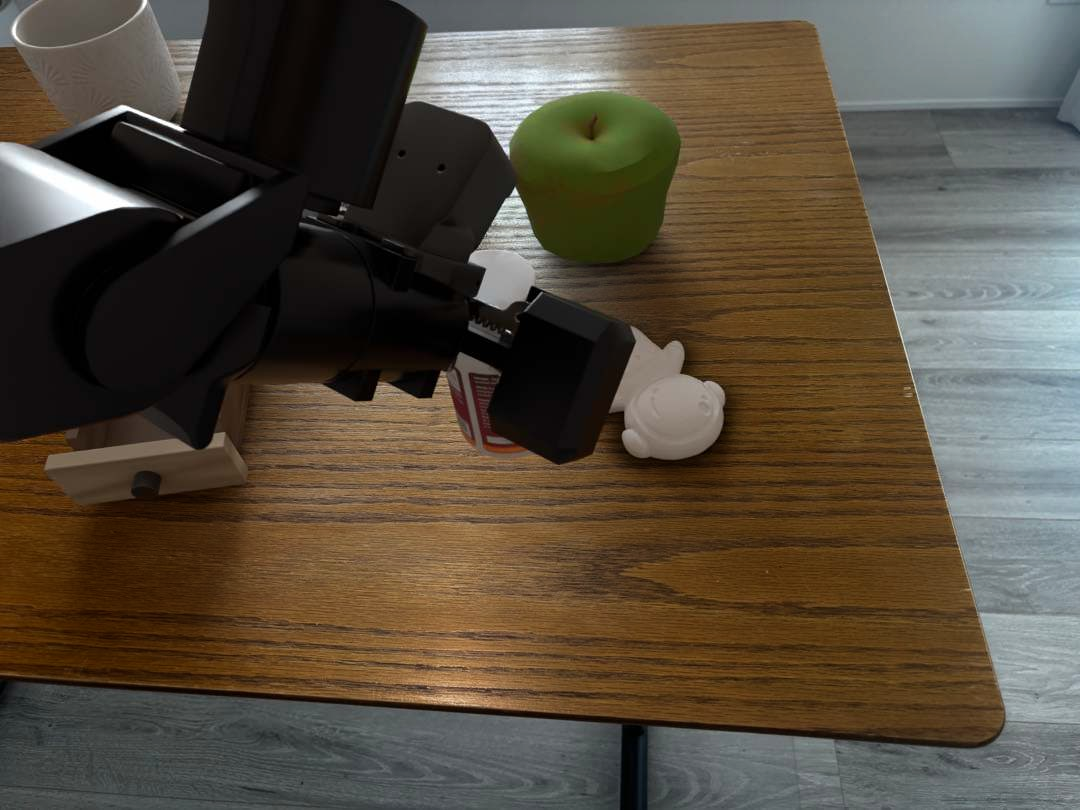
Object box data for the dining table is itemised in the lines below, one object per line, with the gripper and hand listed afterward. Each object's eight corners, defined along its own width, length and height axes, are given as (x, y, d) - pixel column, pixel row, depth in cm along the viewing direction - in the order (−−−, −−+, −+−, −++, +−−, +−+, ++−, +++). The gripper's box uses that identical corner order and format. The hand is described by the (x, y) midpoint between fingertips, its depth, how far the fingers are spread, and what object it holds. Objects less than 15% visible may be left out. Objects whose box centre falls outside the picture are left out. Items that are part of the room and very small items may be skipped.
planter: (76, 170, 81) (10, 64, 72) (66, 107, 88) (6, 4, 79) (203, 131, 83) (155, 23, 75) (183, 73, 90) (137, -31, 82)
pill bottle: (582, 400, 50) (575, 258, 41) (532, 478, 47) (513, 342, 38) (492, 367, 52) (467, 226, 43) (438, 440, 49) (400, 303, 40)
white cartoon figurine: (650, 318, 63) (651, 288, 60) (750, 429, 56) (755, 400, 53) (547, 366, 60) (544, 337, 58) (637, 487, 54) (638, 460, 51)
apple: (661, 181, 72) (666, 58, 64) (685, 279, 65) (695, 154, 56) (517, 197, 73) (502, 76, 64) (524, 295, 65) (508, 174, 56)
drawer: (244, 499, 54) (220, 462, 51) (73, 522, 54) (37, 486, 51) (272, 299, 66) (254, 258, 63) (131, 317, 66) (105, 278, 63)
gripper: (609, 161, 26) (732, 236, 40) (198, 29, 33) (424, 131, 47) (489, 491, 28) (646, 452, 42) (130, 297, 35) (365, 319, 49)
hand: (513, 326), depth 45 cm, fingers closed on pill bottle, 6 cm apart
